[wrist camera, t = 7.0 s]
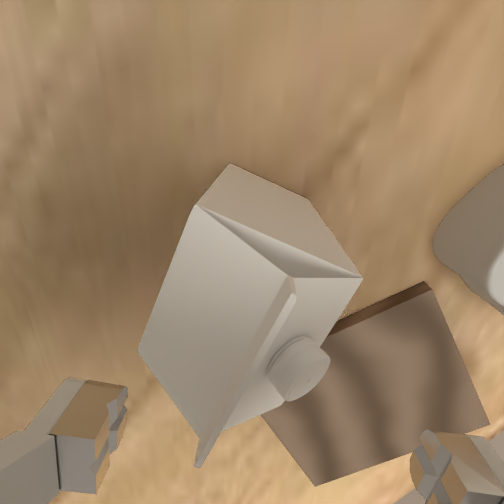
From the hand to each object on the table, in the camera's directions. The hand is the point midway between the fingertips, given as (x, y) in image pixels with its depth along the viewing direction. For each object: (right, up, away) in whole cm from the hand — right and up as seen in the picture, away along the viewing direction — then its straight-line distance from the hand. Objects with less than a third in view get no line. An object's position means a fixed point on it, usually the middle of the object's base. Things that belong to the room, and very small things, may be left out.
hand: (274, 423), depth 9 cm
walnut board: (+11, -10, +25) cm, 29 cm away
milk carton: (-1, +7, +18) cm, 20 cm away
